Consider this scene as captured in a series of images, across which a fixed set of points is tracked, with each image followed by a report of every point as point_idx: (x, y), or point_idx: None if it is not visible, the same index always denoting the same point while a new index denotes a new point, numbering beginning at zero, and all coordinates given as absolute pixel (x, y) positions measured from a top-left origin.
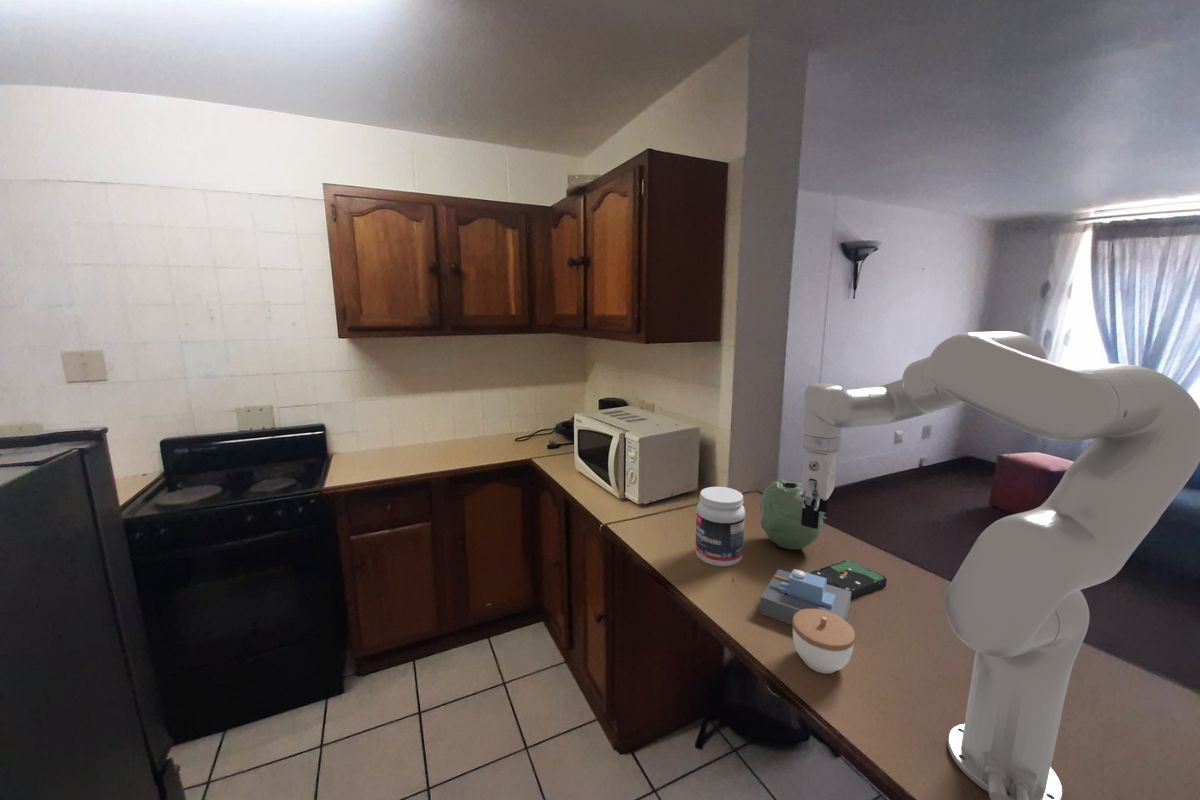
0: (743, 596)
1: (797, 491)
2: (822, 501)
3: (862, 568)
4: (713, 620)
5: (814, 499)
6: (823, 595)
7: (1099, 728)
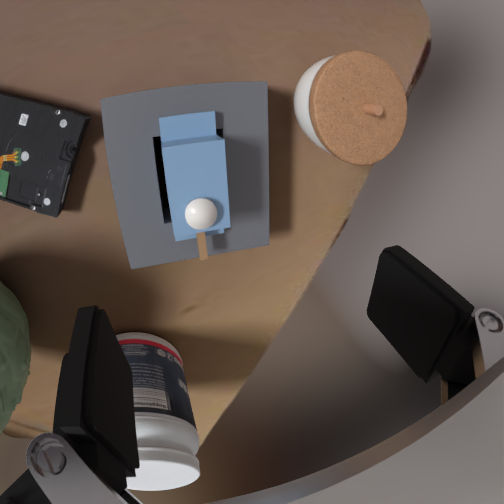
0: (225, 272)
1: None
2: (110, 394)
3: None
4: (317, 269)
5: (131, 427)
6: (197, 137)
7: None
